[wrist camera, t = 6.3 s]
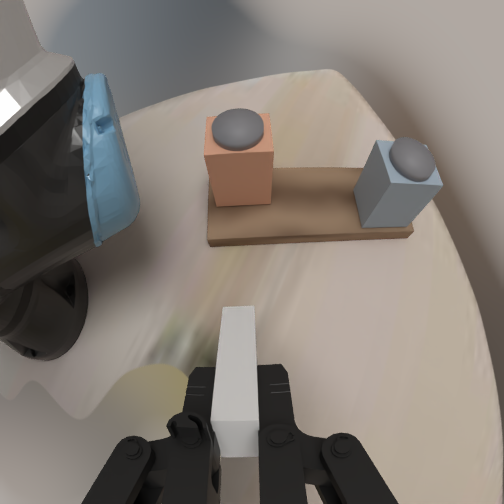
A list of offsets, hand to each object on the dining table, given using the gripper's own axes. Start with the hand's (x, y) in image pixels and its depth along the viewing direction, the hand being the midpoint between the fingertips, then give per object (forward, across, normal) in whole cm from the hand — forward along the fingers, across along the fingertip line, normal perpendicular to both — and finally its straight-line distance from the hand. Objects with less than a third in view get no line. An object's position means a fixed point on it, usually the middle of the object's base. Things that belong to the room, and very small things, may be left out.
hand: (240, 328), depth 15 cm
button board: (+22, +8, 0) cm, 24 cm away
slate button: (+20, +16, 0) cm, 25 cm away
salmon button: (+22, 0, +3) cm, 22 cm away
